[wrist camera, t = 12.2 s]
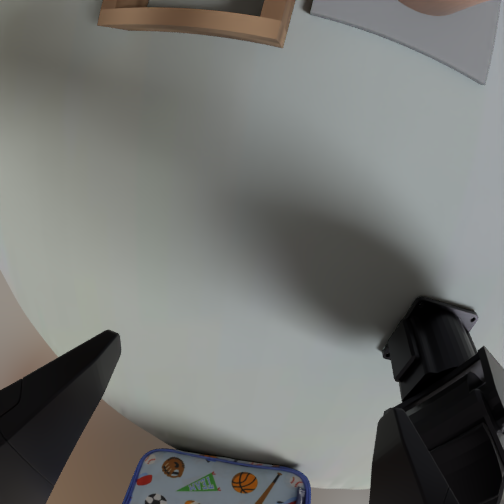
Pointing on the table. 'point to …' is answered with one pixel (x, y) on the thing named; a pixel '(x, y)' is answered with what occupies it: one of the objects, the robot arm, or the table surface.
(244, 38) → the holder
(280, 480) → the lunch box
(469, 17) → the mat
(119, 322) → the table surface
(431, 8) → the tan dome with tab
